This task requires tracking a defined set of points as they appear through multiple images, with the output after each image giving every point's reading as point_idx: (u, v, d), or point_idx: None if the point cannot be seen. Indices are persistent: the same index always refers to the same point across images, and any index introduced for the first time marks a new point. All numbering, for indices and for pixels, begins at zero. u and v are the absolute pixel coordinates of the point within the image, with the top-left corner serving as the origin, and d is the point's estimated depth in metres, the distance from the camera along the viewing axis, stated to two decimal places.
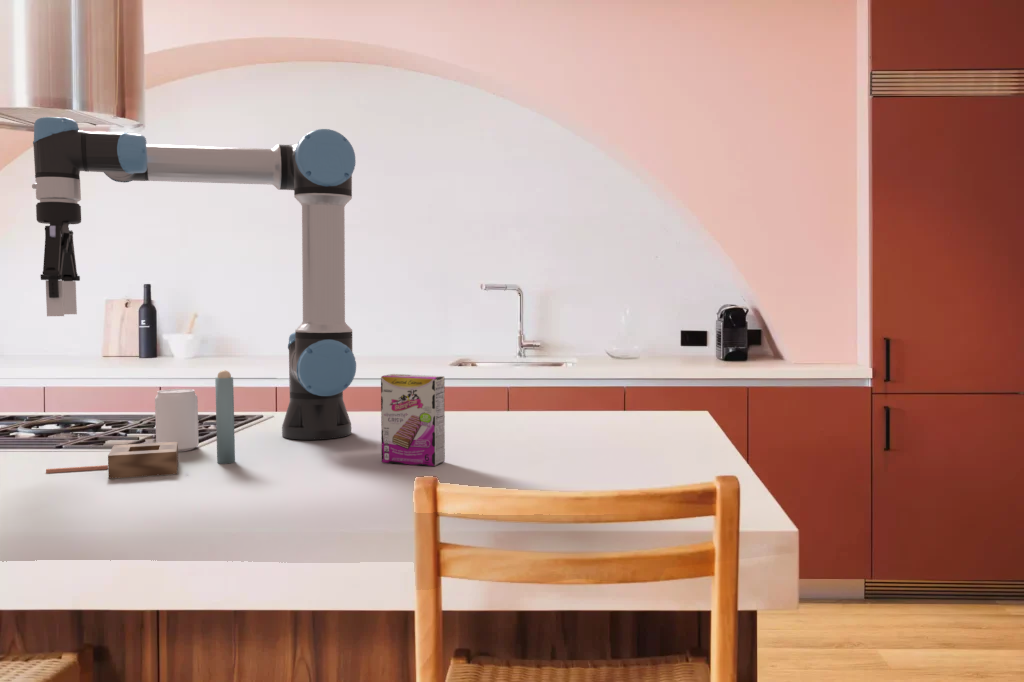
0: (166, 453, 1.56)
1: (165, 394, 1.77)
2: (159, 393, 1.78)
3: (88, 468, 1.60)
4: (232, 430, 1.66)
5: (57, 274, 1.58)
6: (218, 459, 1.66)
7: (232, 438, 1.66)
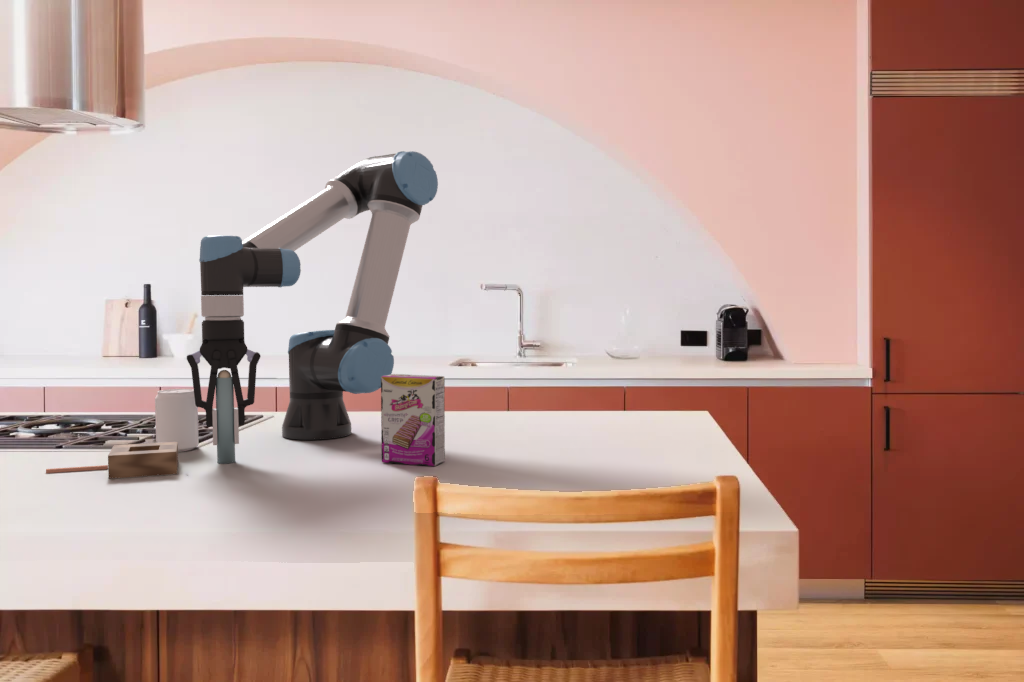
0: (166, 453, 1.56)
1: (165, 394, 1.77)
2: (159, 393, 1.78)
3: (88, 468, 1.60)
4: (232, 430, 1.66)
5: (197, 406, 1.64)
6: (218, 459, 1.66)
7: (232, 438, 1.66)
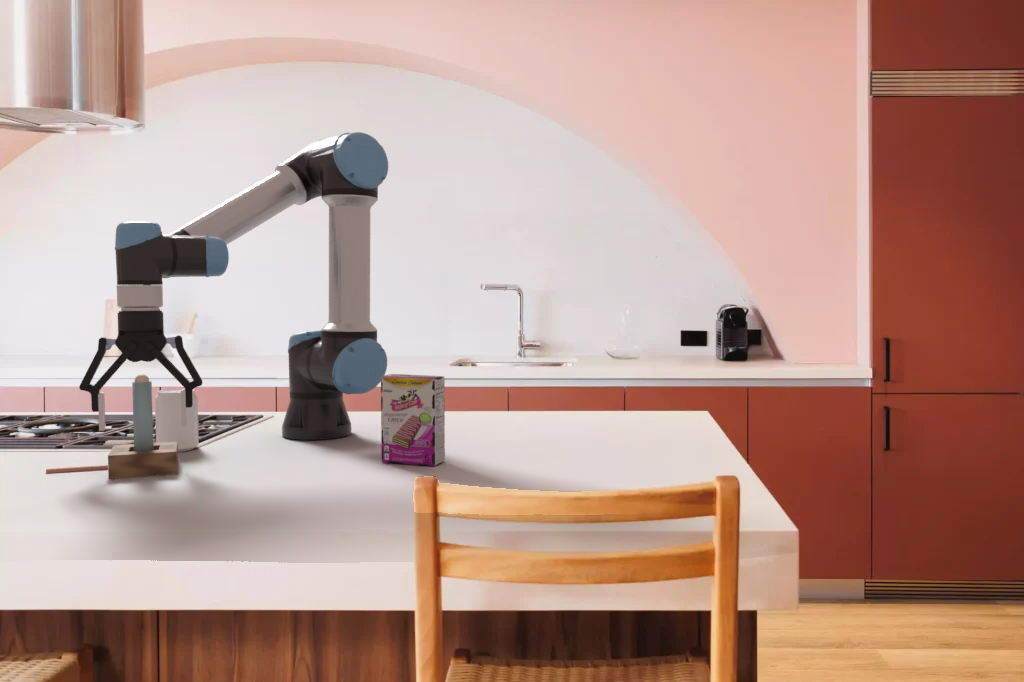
0: (166, 453, 1.56)
1: (165, 394, 1.77)
2: (159, 393, 1.78)
3: (88, 468, 1.60)
4: (150, 437, 1.59)
5: (80, 388, 1.55)
6: None
7: (150, 445, 1.59)
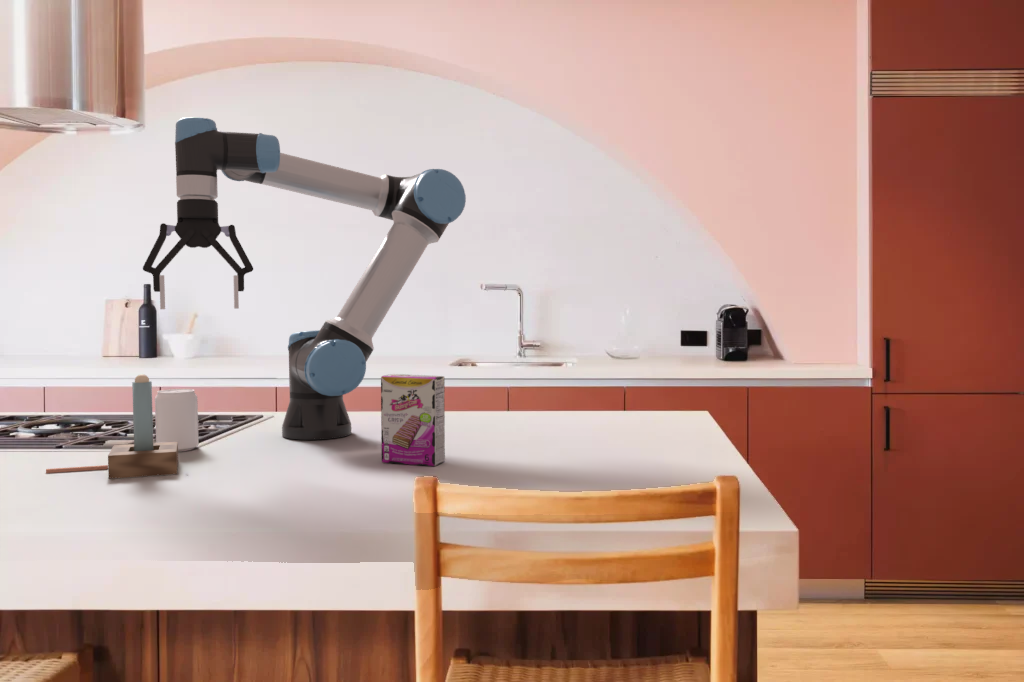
0: (166, 453, 1.56)
1: (165, 394, 1.77)
2: (159, 393, 1.78)
3: (88, 468, 1.60)
4: (150, 437, 1.59)
5: (143, 269, 1.69)
6: None
7: (150, 445, 1.59)
